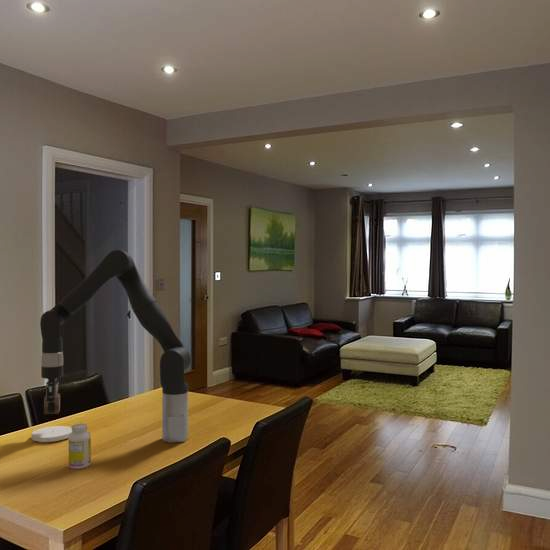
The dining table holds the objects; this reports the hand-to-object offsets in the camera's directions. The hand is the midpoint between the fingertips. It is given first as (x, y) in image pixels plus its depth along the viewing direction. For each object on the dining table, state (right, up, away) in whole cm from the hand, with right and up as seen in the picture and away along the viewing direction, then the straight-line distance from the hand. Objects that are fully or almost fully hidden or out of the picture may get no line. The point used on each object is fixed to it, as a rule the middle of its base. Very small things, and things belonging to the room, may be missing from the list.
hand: (52, 410), depth 197 cm
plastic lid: (0, -11, 0) cm, 11 cm away
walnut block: (0, -1, 0) cm, 1 cm away
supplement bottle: (+20, -11, -27) cm, 36 cm away
